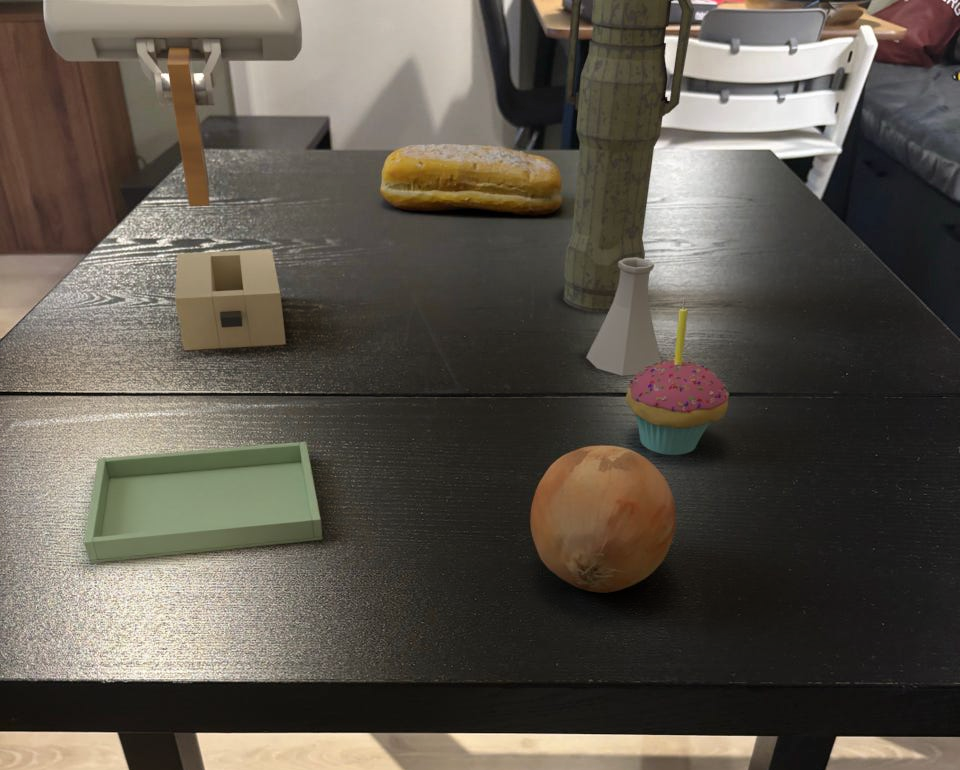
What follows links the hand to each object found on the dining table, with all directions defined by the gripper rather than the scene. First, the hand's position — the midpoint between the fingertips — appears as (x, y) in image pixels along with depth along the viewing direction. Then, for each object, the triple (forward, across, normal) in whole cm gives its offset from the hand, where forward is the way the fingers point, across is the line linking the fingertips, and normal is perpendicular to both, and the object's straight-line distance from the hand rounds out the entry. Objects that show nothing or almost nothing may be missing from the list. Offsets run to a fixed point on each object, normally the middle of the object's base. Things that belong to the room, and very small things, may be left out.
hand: (186, 101), depth 77 cm
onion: (+45, +24, -12) cm, 52 cm away
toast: (+6, 0, +4) cm, 7 cm away
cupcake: (+32, +37, +1) cm, 49 cm away
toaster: (+9, +1, +24) cm, 26 cm away
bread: (-22, +37, +55) cm, 69 cm away
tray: (+35, -2, -2) cm, 35 cm away
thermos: (+7, +43, +26) cm, 51 cm away
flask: (+20, +39, +13) cm, 46 cm away
